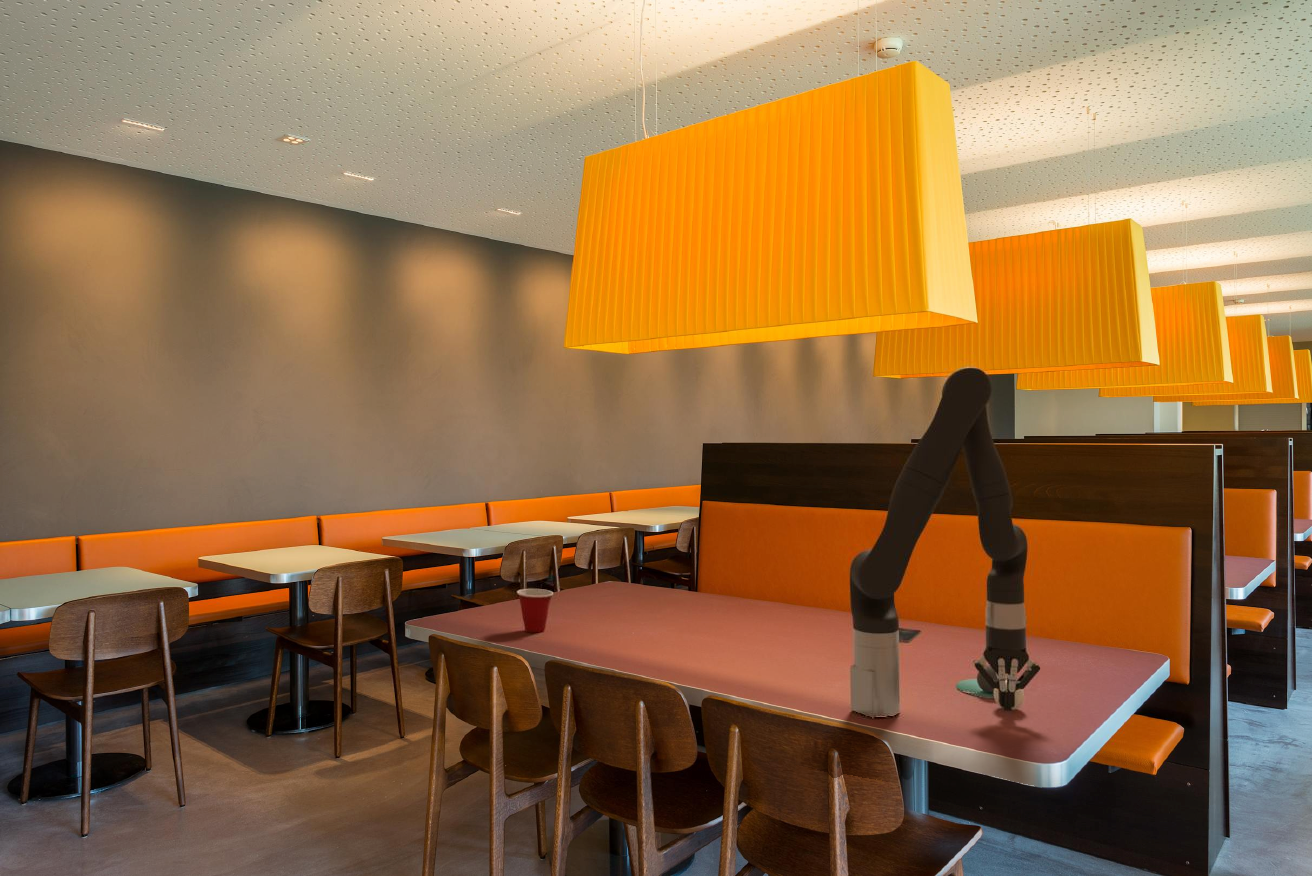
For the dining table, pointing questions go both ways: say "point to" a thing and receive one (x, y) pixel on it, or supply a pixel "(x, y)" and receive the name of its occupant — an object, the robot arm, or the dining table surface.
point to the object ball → (983, 683)
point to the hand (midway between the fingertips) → (1006, 708)
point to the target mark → (972, 688)
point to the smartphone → (907, 634)
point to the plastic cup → (534, 608)
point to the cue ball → (1018, 697)
